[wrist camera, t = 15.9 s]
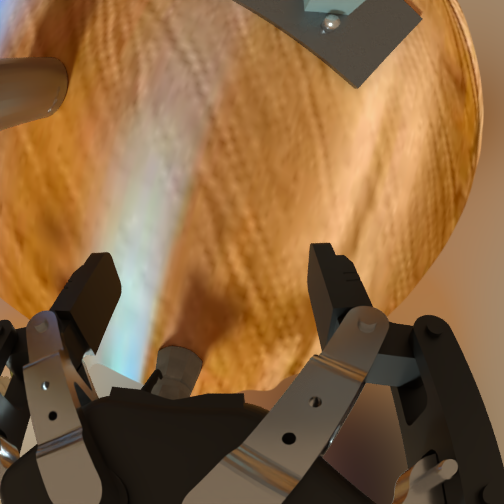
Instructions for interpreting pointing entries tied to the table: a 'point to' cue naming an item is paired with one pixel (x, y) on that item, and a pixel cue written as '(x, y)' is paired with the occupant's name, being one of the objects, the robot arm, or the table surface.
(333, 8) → the block
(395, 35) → the mounting plate
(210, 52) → the table surface
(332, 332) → the robot arm
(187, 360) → the coffeepot
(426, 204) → the table surface
